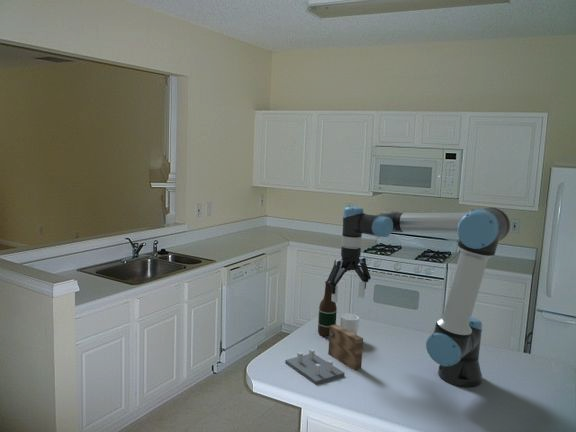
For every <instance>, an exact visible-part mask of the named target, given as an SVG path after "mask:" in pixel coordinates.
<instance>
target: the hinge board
mask: <svg viewBox="0 0 576 432" xmlns="http://www.w3.org/2000/svg"><path fill="white" fill-rule="evenodd" d="M308 351H309V354H304V355H303V353H302V352H301V351H299V352H297V353H296V354H297V356H296V357H292V358H289V359H288V358H287V359H285V364H286V365H287V366H289V367H290V368H291V369H293V370H295V371H296V372H297V373H298V374H300V375H302V376H303V377H305V378H306V379H307V380H309V381H310V382H311V383H312V384H314V385H319V384H322V383H324V382H328V381H332V380H335V379H339V378H343V377H345V372H344V371H342V370H341V369H340V368H337V367H336V366H334V365H333V364H334V361H332V360H331V359H329V360H325V359H323V358H322V357H320V356H319V355H317V354H315V350H314V349H313V348H311V349H309V350H308Z"/></svg>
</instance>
